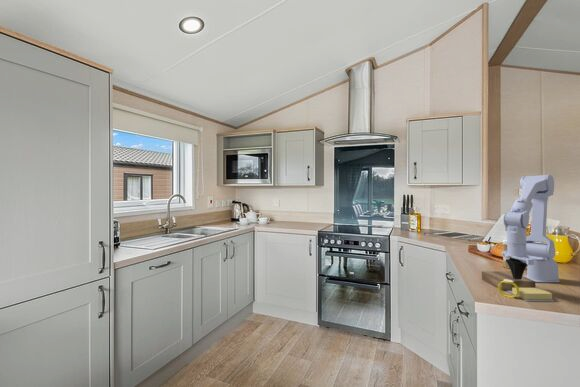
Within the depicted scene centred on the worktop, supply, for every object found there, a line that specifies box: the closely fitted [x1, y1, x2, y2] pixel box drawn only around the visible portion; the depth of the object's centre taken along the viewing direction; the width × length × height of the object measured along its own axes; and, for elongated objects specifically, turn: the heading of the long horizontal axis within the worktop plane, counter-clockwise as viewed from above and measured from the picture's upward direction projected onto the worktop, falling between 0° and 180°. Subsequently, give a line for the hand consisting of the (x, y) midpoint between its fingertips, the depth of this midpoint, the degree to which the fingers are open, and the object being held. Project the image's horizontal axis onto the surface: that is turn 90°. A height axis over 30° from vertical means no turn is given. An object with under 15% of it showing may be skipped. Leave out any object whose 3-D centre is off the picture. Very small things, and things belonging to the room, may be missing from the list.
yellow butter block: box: [511, 287, 553, 300], centre depth 100 cm, size 9×6×2 cm, turn 84°
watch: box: [497, 279, 519, 299], centre depth 101 cm, size 6×3×6 cm, turn 37°
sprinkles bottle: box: [502, 239, 511, 270], centre depth 135 cm, size 5×5×14 cm
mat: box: [505, 290, 556, 303], centre depth 101 cm, size 9×10×1 cm
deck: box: [481, 270, 537, 291], centre depth 113 cm, size 12×13×4 cm
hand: (517, 278), depth 107 cm, fingers closed
